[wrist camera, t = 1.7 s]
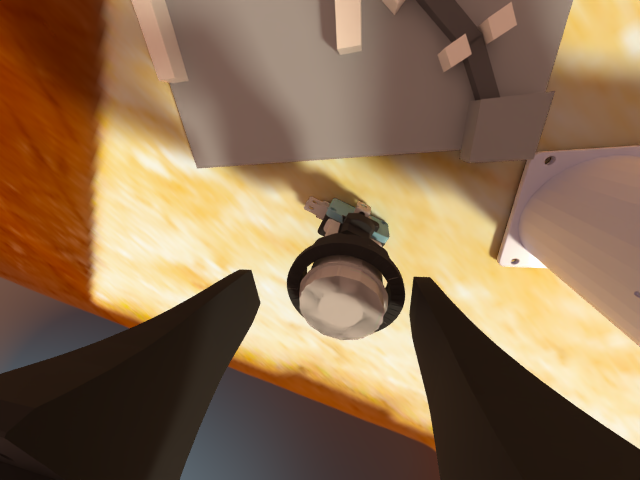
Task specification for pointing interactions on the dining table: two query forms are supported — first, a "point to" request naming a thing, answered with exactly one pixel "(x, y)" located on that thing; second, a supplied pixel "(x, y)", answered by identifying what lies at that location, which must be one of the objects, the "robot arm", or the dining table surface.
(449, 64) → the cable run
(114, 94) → the dining table surface
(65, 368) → the robot arm
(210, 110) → the mat
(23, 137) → the dining table surface
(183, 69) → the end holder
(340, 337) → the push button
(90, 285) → the dining table surface
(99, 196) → the dining table surface
